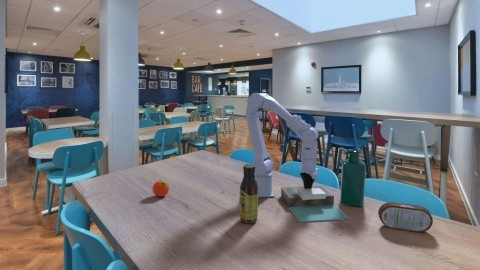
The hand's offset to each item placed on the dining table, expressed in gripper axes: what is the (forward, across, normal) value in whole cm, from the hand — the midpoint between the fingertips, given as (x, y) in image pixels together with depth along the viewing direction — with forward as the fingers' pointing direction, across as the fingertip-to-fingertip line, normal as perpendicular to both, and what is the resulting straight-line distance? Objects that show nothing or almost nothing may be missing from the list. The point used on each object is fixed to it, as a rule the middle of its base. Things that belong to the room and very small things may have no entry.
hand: (307, 190), depth 108 cm
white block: (+1, -4, 0) cm, 4 cm away
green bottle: (+5, -2, -17) cm, 18 cm away
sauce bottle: (+5, -13, +26) cm, 30 cm away
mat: (+5, -11, 0) cm, 12 cm away
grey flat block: (+5, +1, 0) cm, 5 cm away
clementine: (+5, +14, +60) cm, 62 cm away
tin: (+5, -25, -23) cm, 35 cm away
